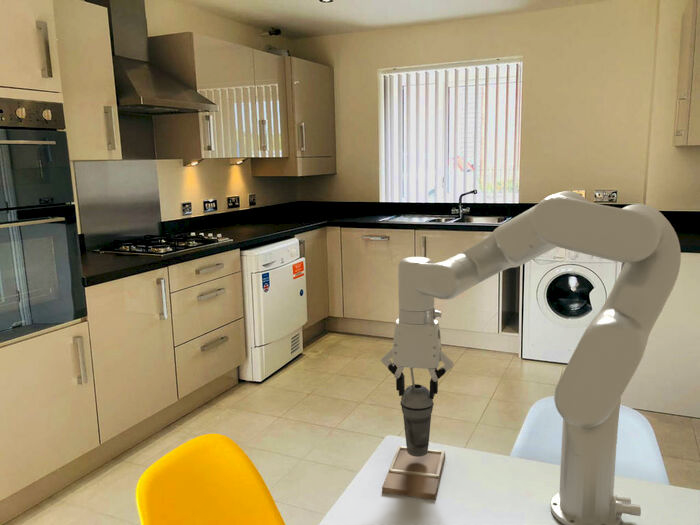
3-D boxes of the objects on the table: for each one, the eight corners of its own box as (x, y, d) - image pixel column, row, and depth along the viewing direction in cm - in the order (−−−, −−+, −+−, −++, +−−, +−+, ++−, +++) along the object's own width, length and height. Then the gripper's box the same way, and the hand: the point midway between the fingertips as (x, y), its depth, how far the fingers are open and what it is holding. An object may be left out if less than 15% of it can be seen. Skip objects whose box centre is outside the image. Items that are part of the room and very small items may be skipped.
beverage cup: (432, 461, 126) (432, 373, 122) (399, 458, 128) (397, 371, 124) (434, 444, 133) (434, 361, 129) (402, 442, 135) (401, 359, 131)
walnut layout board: (445, 457, 135) (445, 450, 134) (435, 499, 119) (435, 492, 118) (398, 451, 138) (398, 445, 138) (382, 492, 122) (382, 485, 121)
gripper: (459, 312, 126) (458, 391, 129) (380, 308, 130) (382, 385, 134) (455, 322, 119) (455, 406, 122) (372, 318, 123) (374, 398, 127)
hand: (417, 394), depth 128 cm, fingers closed on beverage cup, 6 cm apart
